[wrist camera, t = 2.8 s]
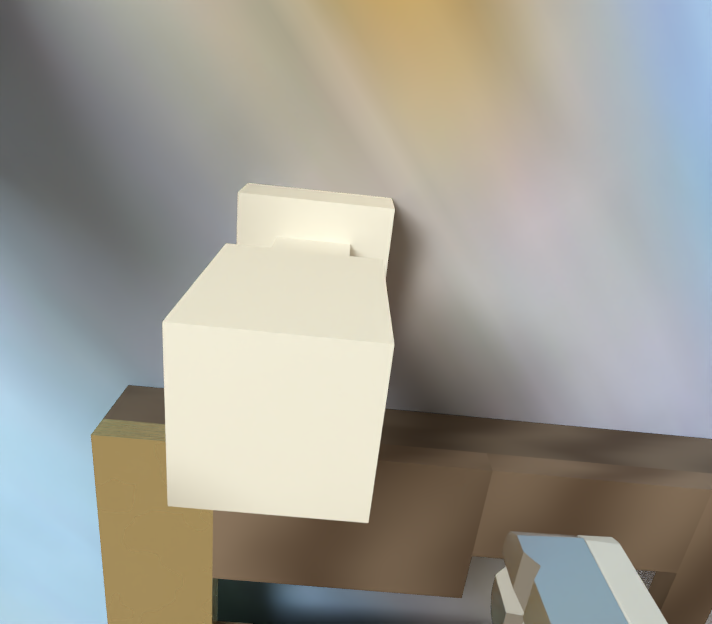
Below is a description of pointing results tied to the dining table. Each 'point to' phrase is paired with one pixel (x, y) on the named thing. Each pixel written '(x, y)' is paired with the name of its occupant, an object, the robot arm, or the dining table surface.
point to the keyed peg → (283, 360)
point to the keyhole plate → (406, 513)
